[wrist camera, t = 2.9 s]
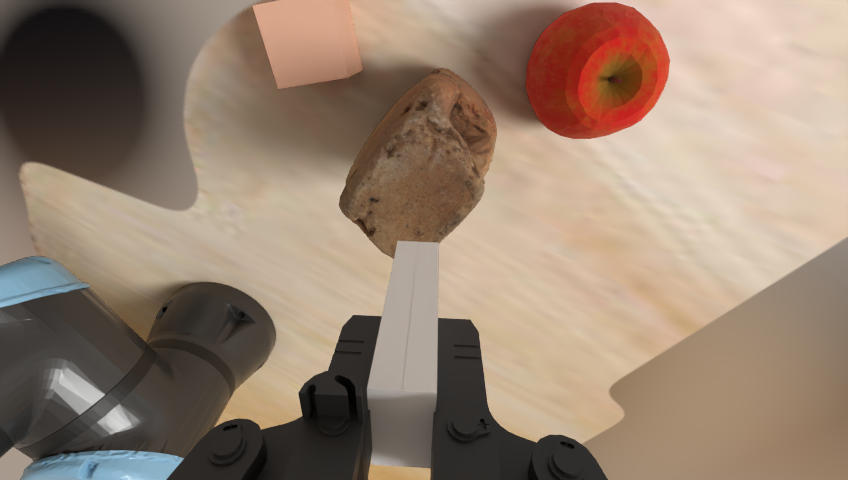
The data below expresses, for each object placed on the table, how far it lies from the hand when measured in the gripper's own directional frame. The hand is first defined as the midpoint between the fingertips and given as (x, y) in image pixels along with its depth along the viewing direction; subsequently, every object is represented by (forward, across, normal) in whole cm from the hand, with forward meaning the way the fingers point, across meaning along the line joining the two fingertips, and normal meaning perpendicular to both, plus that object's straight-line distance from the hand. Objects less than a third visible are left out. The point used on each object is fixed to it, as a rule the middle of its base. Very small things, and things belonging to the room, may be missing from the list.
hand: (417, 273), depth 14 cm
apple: (+29, +14, +5) cm, 32 cm away
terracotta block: (+28, -10, +7) cm, 31 cm away
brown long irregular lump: (+29, 0, 0) cm, 29 cm away
